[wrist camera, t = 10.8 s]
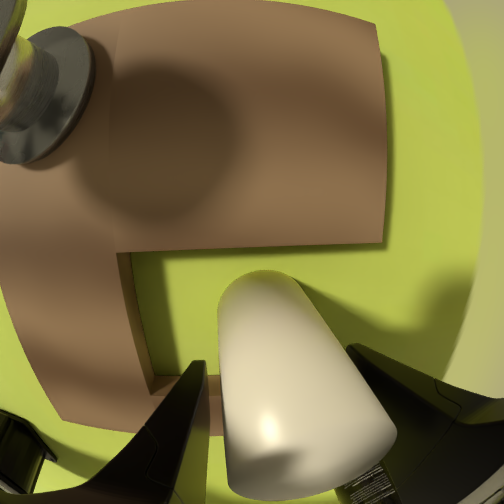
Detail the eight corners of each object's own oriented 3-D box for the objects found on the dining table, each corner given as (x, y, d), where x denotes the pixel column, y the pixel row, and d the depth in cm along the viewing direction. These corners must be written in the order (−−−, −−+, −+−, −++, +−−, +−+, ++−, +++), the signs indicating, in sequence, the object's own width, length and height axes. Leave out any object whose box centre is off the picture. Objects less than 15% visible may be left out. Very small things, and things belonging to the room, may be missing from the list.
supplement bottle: (321, 470, 18) (359, 569, 6) (320, 437, 16) (373, 569, 4) (389, 443, 18) (439, 530, 7) (401, 404, 16) (474, 510, 5)
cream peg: (301, 341, 13) (368, 478, 5) (219, 348, 12) (233, 506, 5) (308, 266, 12) (422, 396, 4) (214, 270, 11) (220, 441, 4)
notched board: (332, 401, 14) (340, 418, 13) (69, 404, 12) (62, 420, 11) (359, 36, 9) (375, 24, 7) (13, 67, 7) (-3, 61, 5)
